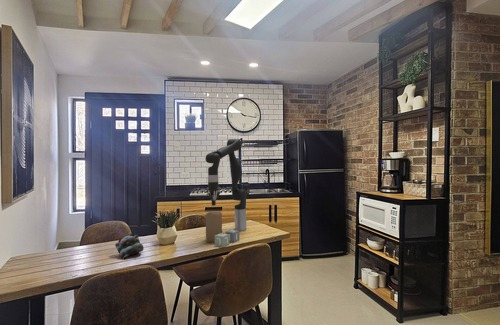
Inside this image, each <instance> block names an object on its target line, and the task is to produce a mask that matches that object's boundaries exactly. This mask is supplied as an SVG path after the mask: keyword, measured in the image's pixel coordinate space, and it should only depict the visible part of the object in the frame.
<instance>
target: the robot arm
mask: <svg viewBox="0 0 500 325" xmlns="http://www.w3.org/2000/svg"><path fill="white" fill-rule="evenodd" d="M242 146H243V142H242V140H241V139H240V138H230V139H228V140H227V141H226V146H222V147H221V148H218V149H216V150H215V151H212V152H209V153H207V154H206V156H205V158H204V159H205V161H206V163H208V164H211V166H209V167H208V168H207V175H208V176H207V188H208V192H206V195H207V196H206V197H208V200H210V201H211V206H216V204H217V202H216V200H218V198H219V196H220V194H221V191H219V187H220V186H219V184H220V183H219V167H220V163H221V159H223V158H224V157H226V156H228V159H229V170H230V178H231V195H232V196H231V197H232V200H233V201H239V203H238V204H235V205H234V230H237V231H239V232H240V231H241V232H242V231H247V226H248V225H247V214H246V212H247V211H246V210H247V209H246V208H247V207H246V206H247V191H246V190H245V189H239V188H238V184H239V181H240V179H241V177H242V175H243V171H242V164H241V163H240V161H239V160H238V158H237V156H236V154H235V152H236V151H239V150H241V149H242Z"/></svg>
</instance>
